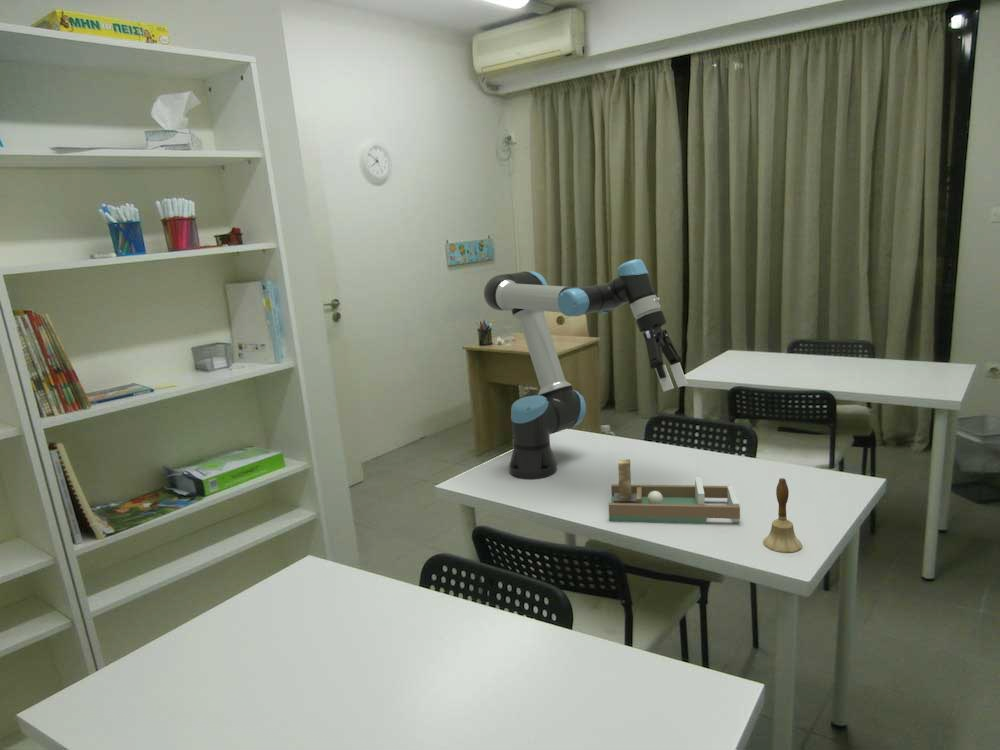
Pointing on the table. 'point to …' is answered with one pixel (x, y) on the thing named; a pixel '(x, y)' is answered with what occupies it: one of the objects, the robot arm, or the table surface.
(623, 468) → the kicker
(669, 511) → the pitch
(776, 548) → the hand bell
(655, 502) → the ball
